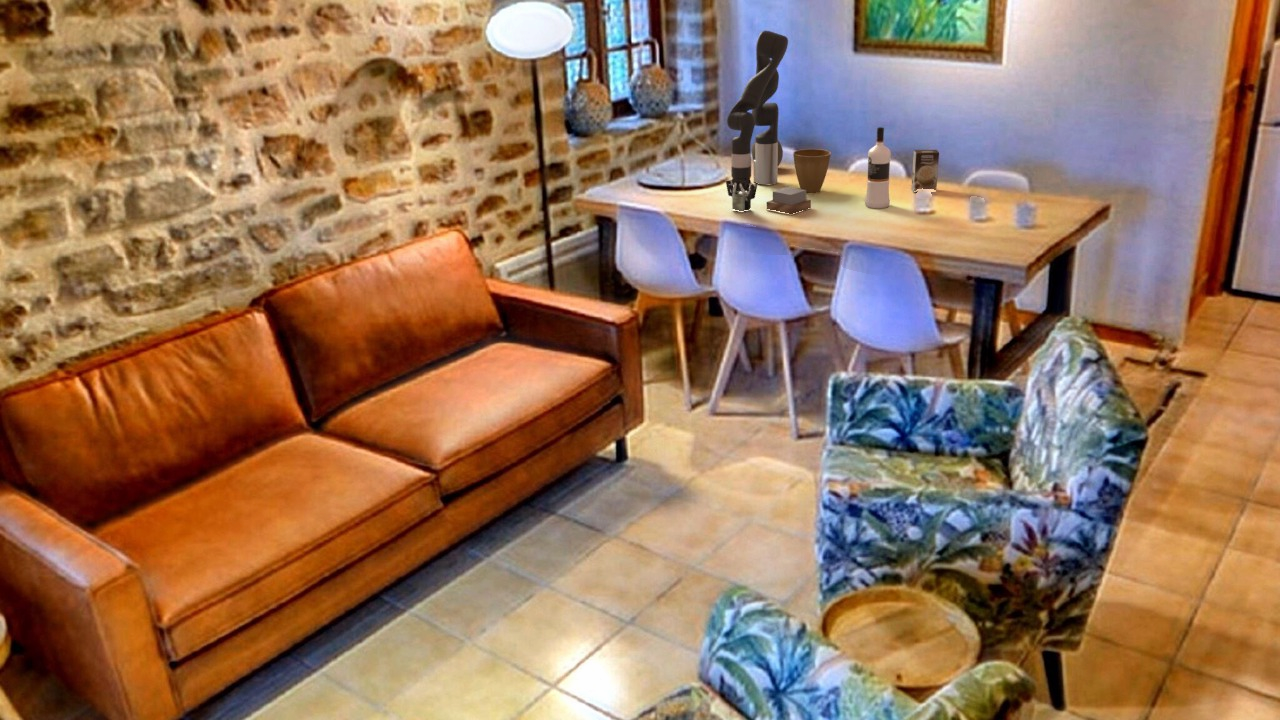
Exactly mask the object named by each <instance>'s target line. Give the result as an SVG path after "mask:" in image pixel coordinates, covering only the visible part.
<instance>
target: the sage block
mask: <svg viewBox="0 0 1280 720" xmlns="http://www.w3.org/2000/svg"><path fill="white" fill-rule="evenodd" d="M747 197H748V196H747ZM731 201H732V203H731V204H732V205H731V206H732V209H735V210H739V211H744V210H745V197H744V195H743V194H742V192H739V194H736V195H733V196H732V197H731ZM751 202H752V199H751V200H750V208H752V204H751Z"/></svg>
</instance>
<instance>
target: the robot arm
mask: <svg viewBox="0 0 1280 720" xmlns="http://www.w3.org/2000/svg"><path fill="white" fill-rule="evenodd" d="M788 45H789V38H788V37H787V36H785V35H783V34H780V33H776V32H774V31H769V30H763V31H761V32H760V33H759V35H758V38H757V41H756V47H755V51H756V53H755V56H756V57H755V58H756V70H755V75H754V76H752V77H751V78H750V79H749V80H748V82H746V85H745V87H744V89H743V91H742V94H741V96H740V98H739V100H738V101H737V102H736V103H735V104H734V106H733V107H732V108H731V110H730V111H729V113H728V115H727V119H726V123H727V127H728V128H729V129H731V130H734V131H740V134H739V136H735V137H733V138H732V140H731V159H730V163H731V164H730V165H731V166H730V167H731V174H730V175H731V178H732V179H728V180H726V181H725V185H726V189H727V195H728V196H729V197H731V198H732V196H733V195H736V194H739V193H742V194H743V195H744V197H745V210H749V209H750V200H751V201H752V200H754V199H756V194H757V188H758V184H756V183H754V182H757V183H759V184H774V183H777V184H778V178H779V177H778V169H779V166H778V141H779V138H778V136H779V135H778V131H779V130H778V129H779V127H778V126H779V113H780V112H779V110H780V109H779V106H778V103H777V102H768V101H769V99H771V98H772V97H773V96H774V95H775V93H776V92H777V90H778V88H779V82H780V74H779V70H778V67H779V65H780V63H782V61H783V59H784V57H785V54H786V52H787V49H788ZM749 111H751V112H749ZM755 126H757V127H768V126H769V127H768V129H767V130H765V131H763V132H761V133H758V134H756V136H755V138H754V139H755V141H754V142H755V160H753V183H752V181H751V177H752V152H751V141H752V138H753V134H754V129H755ZM774 185H775V184H774ZM747 196H748V197H747Z"/></svg>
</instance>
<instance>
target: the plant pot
mask: <svg viewBox="0 0 1280 720" xmlns="http://www.w3.org/2000/svg"><path fill="white" fill-rule="evenodd" d="M792 153H793V154H792V155H793V164H794V170H795V174H796V179H797V182H798V185H799V189H803V190H806V194H808V193H813V194H819V193H820V191H821V190H822V187H823V184H824V183H825V179H826V176H827V172H828V169H829V165H830V164H829V163H830V160H831V155H832V153H831V151H829V150H826V149H821V148H820V149H819V148H818V149H817V148H805V149H804V148H803V149H798V150H794V151H793V152H792ZM818 192H819V193H818Z"/></svg>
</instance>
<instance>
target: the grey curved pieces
mask: <svg viewBox="0 0 1280 720" xmlns="http://www.w3.org/2000/svg"><path fill="white" fill-rule="evenodd" d="M783 153H784V150H783V146H782V144H781V143H780V140H778V167H779V166H780V165H781V162H782V160H783V156H784V155H783ZM751 158H752V160H753V161H754V160H755V141H754V143H753V144H752V146H751Z"/></svg>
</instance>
